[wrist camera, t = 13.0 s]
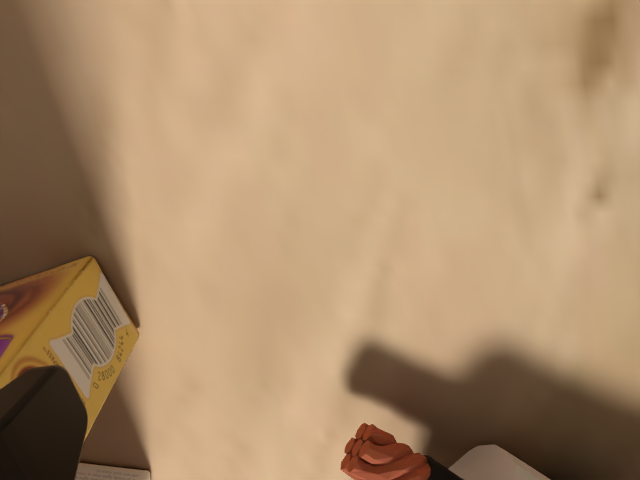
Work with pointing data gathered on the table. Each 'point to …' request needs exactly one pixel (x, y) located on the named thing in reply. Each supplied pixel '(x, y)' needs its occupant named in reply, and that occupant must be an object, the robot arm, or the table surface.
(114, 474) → the cardboard box
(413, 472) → the white black banded bottle
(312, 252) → the table surface
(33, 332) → the candy box
